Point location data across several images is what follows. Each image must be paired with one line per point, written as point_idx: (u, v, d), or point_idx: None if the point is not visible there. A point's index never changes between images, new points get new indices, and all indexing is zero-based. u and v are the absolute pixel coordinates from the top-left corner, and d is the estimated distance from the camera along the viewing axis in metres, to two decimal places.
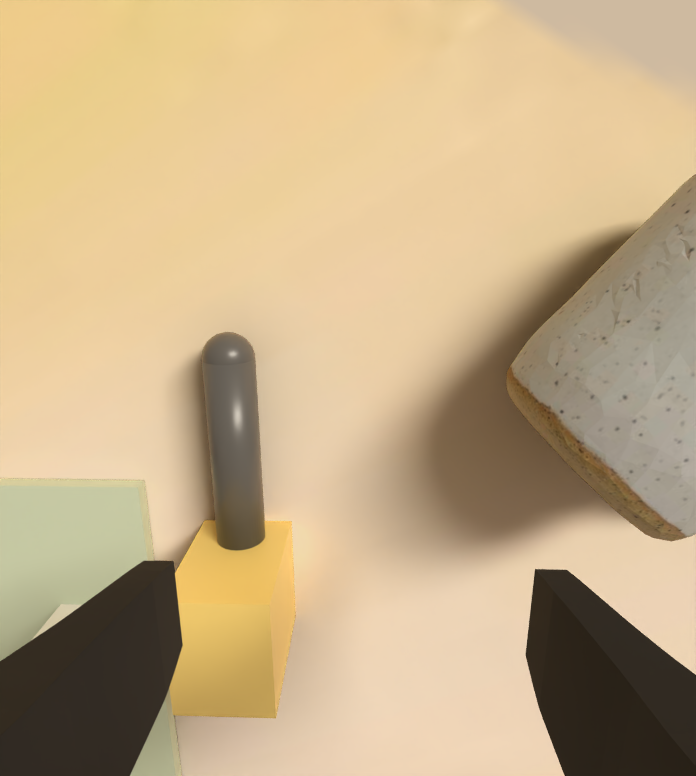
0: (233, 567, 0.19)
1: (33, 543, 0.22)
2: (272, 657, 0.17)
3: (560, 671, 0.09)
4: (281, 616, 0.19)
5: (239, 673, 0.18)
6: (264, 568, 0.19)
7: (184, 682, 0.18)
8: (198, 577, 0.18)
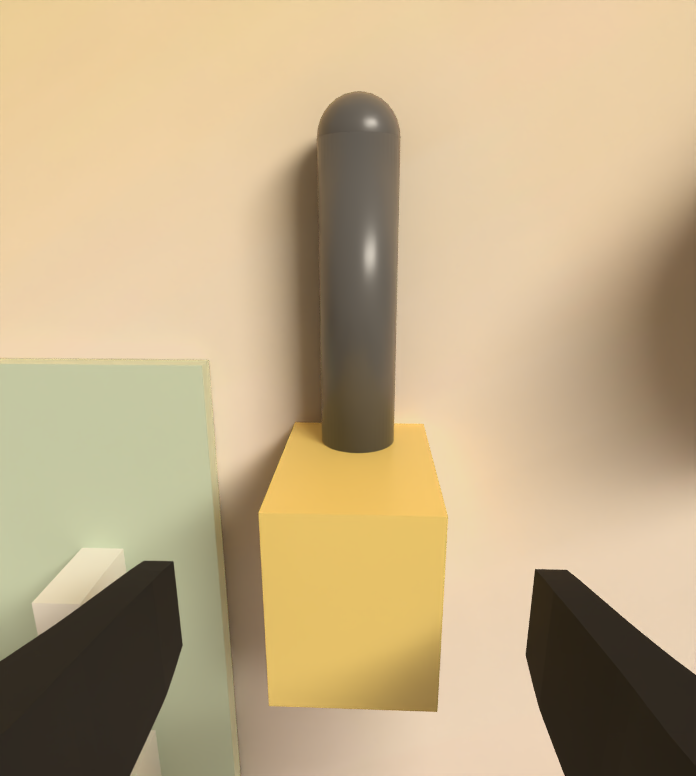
0: (362, 472, 0.12)
1: (43, 454, 0.15)
2: (442, 609, 0.11)
3: (560, 671, 0.09)
4: None
5: (383, 637, 0.11)
6: (413, 472, 0.12)
7: (292, 651, 0.11)
8: (312, 483, 0.11)
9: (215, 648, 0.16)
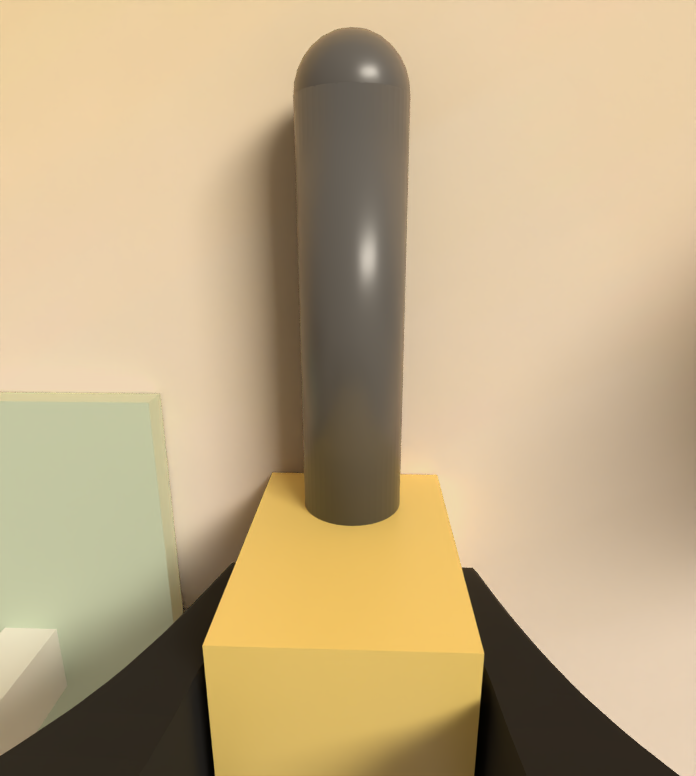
0: (358, 560, 0.09)
1: None
2: None
3: None
4: None
5: None
6: (428, 562, 0.08)
7: None
8: (286, 583, 0.08)
9: None
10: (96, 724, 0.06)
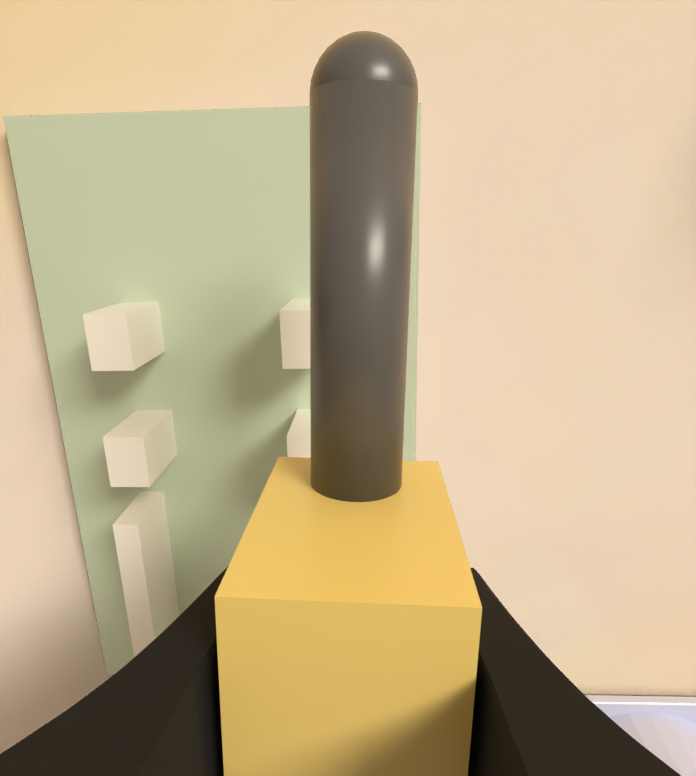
0: (362, 529, 0.09)
1: (264, 202, 0.16)
2: (469, 733, 0.08)
3: None
4: None
5: (388, 769, 0.08)
6: (428, 533, 0.09)
7: None
8: (294, 546, 0.08)
9: (407, 401, 0.18)
10: (94, 723, 0.06)
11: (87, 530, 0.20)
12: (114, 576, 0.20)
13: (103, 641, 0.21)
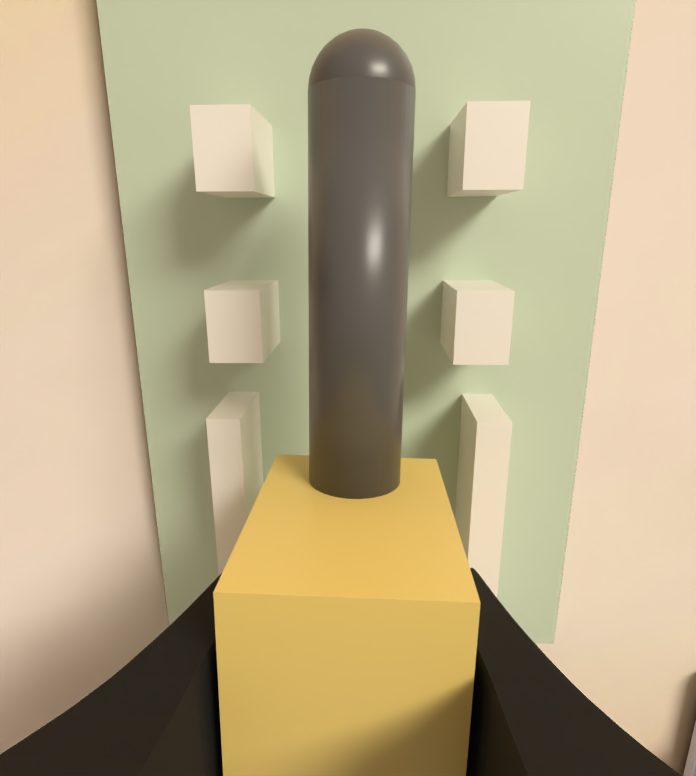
0: (360, 526, 0.09)
1: None
2: (468, 728, 0.08)
3: None
4: None
5: (387, 764, 0.08)
6: (427, 529, 0.09)
7: None
8: (292, 543, 0.08)
9: (590, 270, 0.13)
10: (94, 723, 0.06)
11: (157, 443, 0.15)
12: (187, 504, 0.16)
13: (168, 589, 0.17)
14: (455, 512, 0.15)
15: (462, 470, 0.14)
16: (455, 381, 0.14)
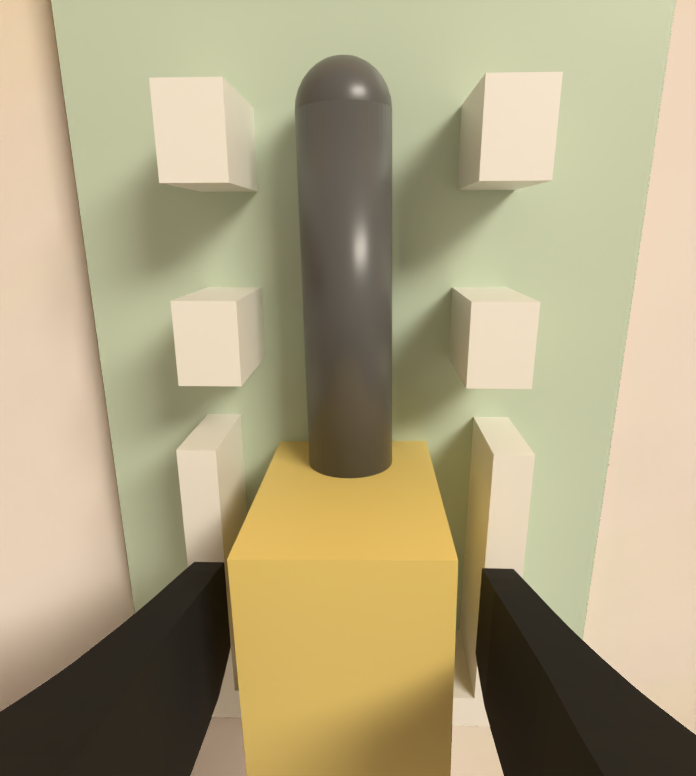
0: (355, 501, 0.10)
1: None
2: (453, 671, 0.09)
3: (499, 669, 0.09)
4: None
5: (383, 705, 0.09)
6: (414, 502, 0.10)
7: (273, 723, 0.09)
8: (295, 517, 0.09)
9: (622, 275, 0.12)
10: (31, 722, 0.06)
11: (126, 471, 0.13)
12: (162, 540, 0.14)
13: None
14: (465, 549, 0.14)
15: (474, 505, 0.12)
16: (466, 402, 0.13)
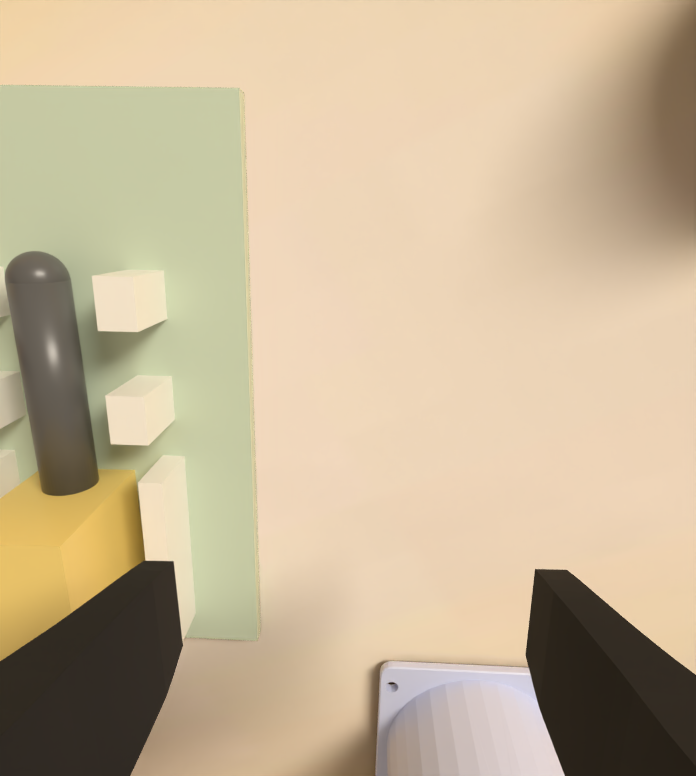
0: (43, 511, 0.17)
1: (98, 176, 0.17)
2: (71, 607, 0.16)
3: (560, 671, 0.09)
4: (101, 567, 0.17)
5: (36, 626, 0.16)
6: (76, 512, 0.17)
7: None
8: None
9: (240, 371, 0.19)
10: None
11: None
12: None
13: None
14: None
15: None
16: (156, 446, 0.20)
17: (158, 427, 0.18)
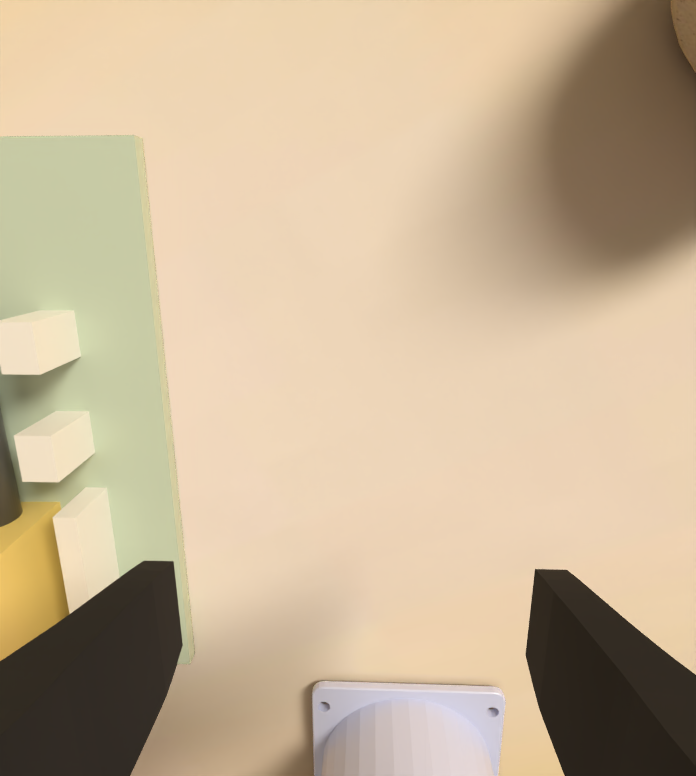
0: None
1: (5, 222, 0.18)
2: None
3: (560, 671, 0.09)
4: (18, 600, 0.18)
5: None
6: None
7: None
8: None
9: (154, 405, 0.19)
10: None
11: None
12: None
13: None
14: None
15: None
16: (79, 478, 0.20)
17: (72, 463, 0.18)
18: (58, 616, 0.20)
